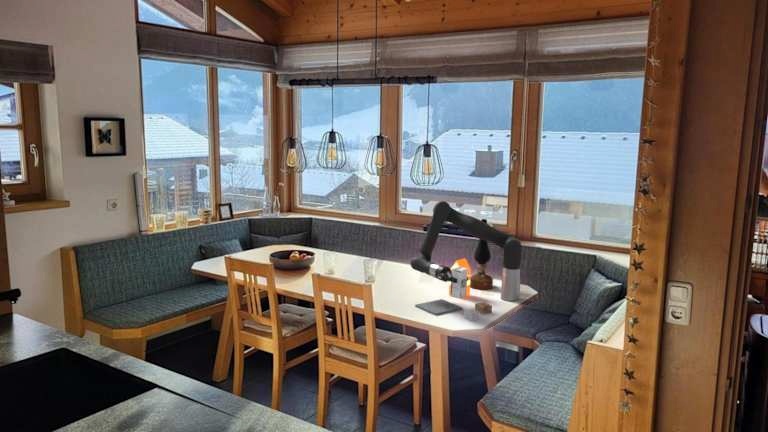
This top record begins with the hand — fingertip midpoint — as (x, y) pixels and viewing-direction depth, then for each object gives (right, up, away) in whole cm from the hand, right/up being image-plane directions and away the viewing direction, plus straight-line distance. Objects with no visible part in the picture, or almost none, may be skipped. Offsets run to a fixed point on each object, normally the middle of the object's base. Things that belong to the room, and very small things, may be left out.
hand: (462, 280), depth 289 cm
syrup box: (-2, -9, +3) cm, 9 cm away
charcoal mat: (-10, -16, +12) cm, 22 cm away
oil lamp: (+18, -10, +52) cm, 56 cm away
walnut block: (+12, -17, +8) cm, 22 cm away
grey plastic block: (+4, -19, -3) cm, 19 cm away
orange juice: (+3, -12, +35) cm, 37 cm away
